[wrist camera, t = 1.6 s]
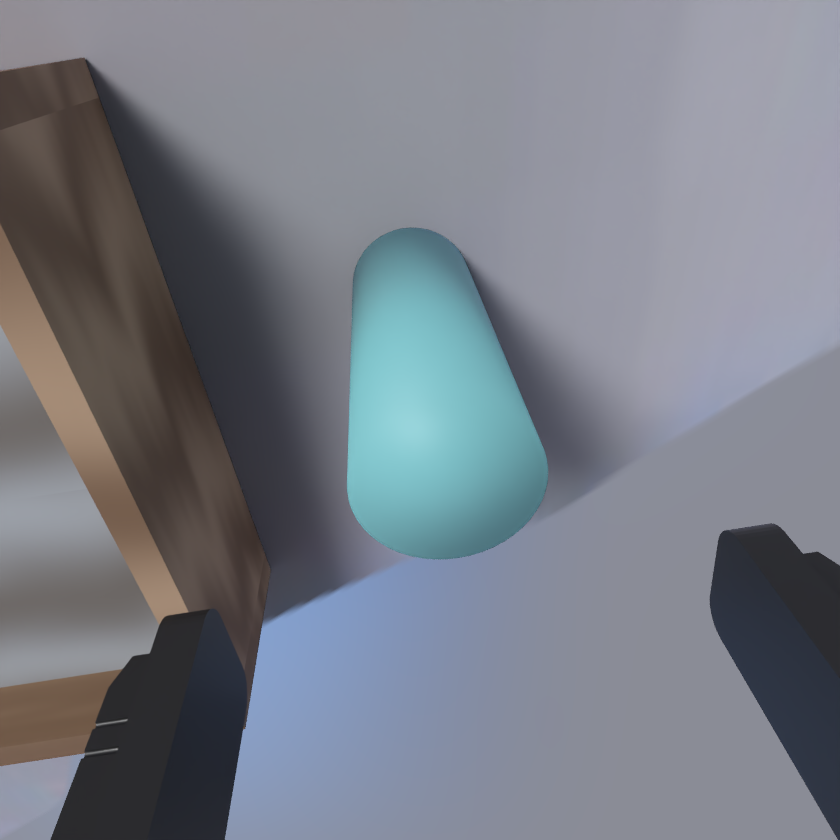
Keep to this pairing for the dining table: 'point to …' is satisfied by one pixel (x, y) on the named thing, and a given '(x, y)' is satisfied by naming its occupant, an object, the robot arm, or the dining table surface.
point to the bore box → (97, 431)
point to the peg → (434, 407)
